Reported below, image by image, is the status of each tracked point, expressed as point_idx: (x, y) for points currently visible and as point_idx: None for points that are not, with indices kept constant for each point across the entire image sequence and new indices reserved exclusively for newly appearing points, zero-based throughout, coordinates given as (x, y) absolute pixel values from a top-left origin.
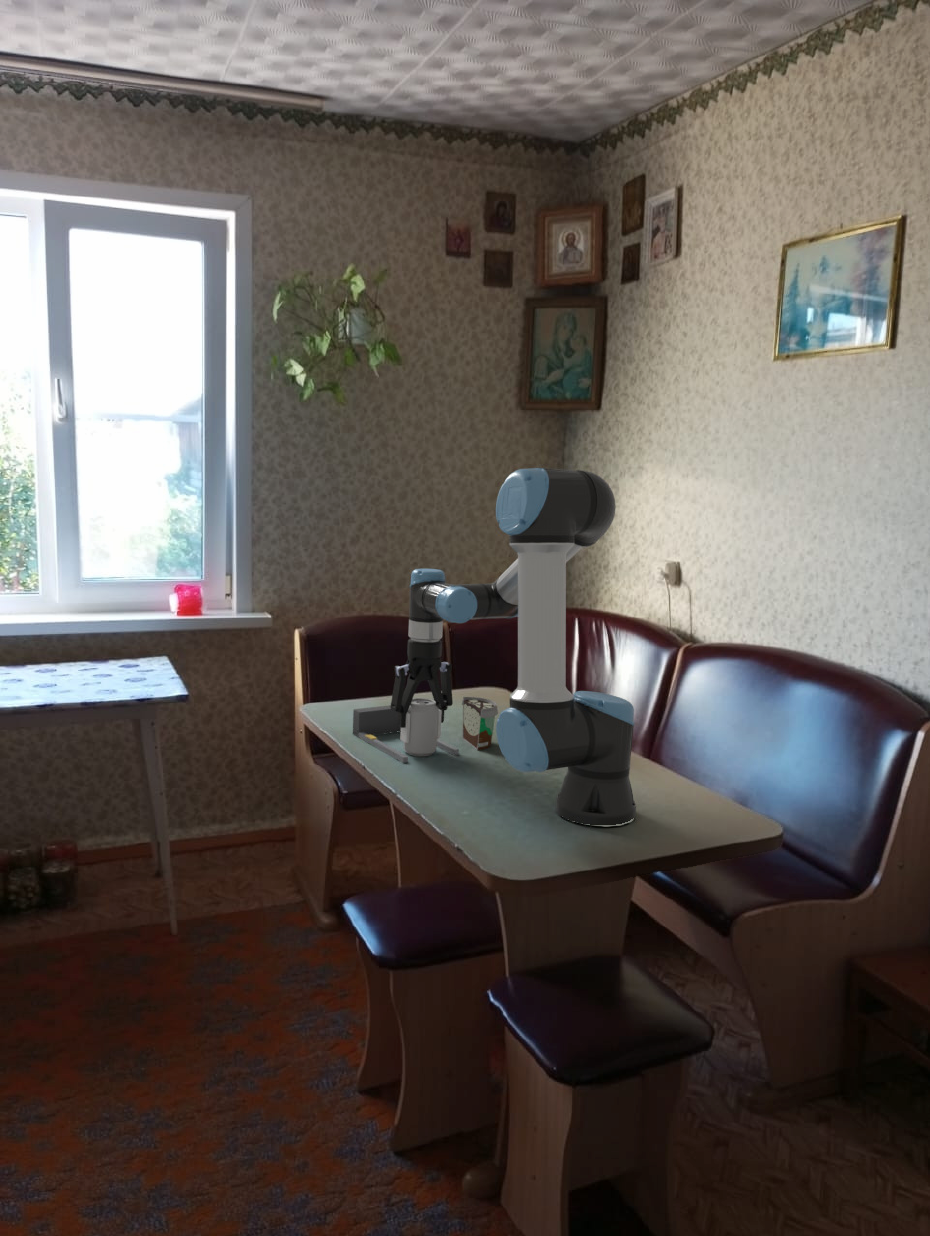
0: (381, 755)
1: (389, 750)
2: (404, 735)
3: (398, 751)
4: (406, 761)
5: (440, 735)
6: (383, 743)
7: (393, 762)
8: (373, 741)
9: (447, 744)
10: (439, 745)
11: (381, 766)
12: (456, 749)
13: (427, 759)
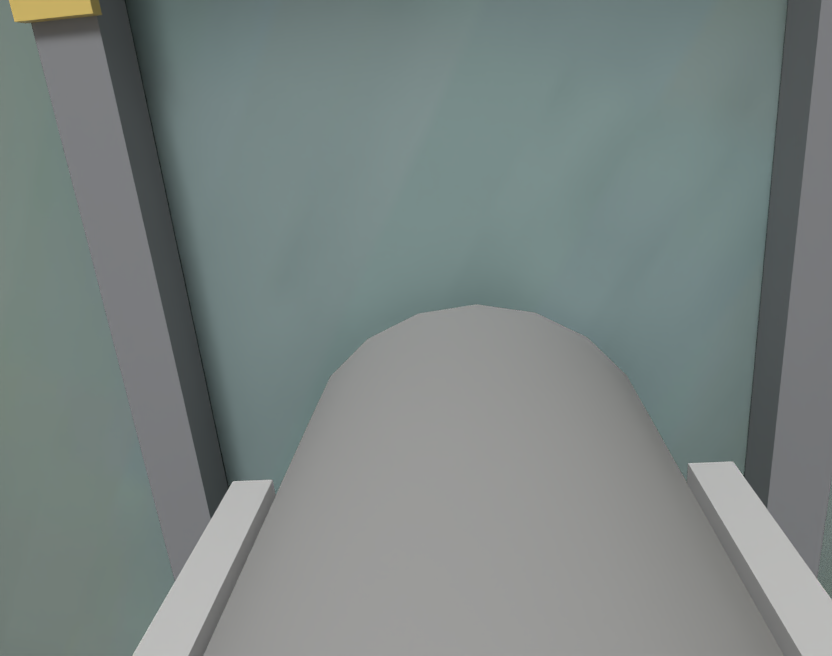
0: (89, 403)
1: (144, 439)
2: None
3: (209, 518)
4: None
5: None
6: (135, 229)
7: (141, 590)
8: (50, 76)
9: (809, 497)
10: (761, 396)
11: (23, 632)
12: None
13: None
